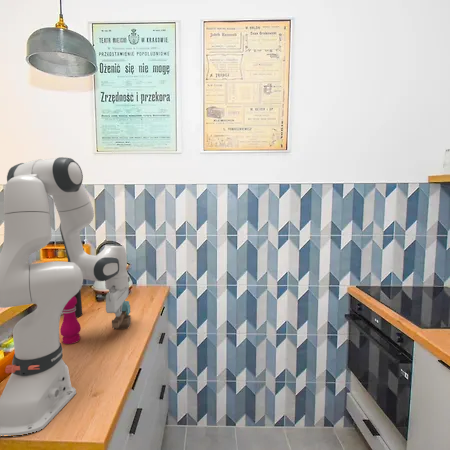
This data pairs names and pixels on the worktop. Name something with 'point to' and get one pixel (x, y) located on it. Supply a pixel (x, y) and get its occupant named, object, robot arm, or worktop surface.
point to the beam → (122, 321)
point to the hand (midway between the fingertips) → (118, 315)
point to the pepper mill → (70, 323)
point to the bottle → (78, 304)
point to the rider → (126, 307)
